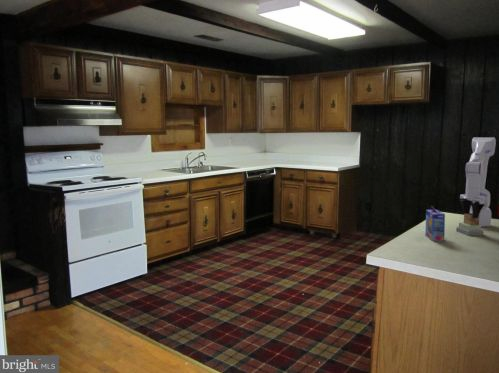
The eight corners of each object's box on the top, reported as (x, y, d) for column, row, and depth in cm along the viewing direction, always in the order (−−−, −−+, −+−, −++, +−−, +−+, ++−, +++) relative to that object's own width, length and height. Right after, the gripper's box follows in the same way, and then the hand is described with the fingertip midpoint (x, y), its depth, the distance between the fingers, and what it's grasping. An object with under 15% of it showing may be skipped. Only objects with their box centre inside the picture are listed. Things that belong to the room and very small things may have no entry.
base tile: (471, 231, 196) (471, 226, 196) (483, 236, 188) (483, 230, 188) (456, 232, 195) (456, 227, 194) (467, 236, 187) (467, 231, 186)
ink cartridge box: (424, 235, 189) (425, 204, 187) (436, 235, 188) (438, 204, 186) (431, 241, 179) (433, 208, 177) (444, 241, 178) (446, 208, 176)
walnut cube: (472, 222, 193) (473, 213, 192) (478, 224, 189) (479, 215, 188) (463, 222, 192) (464, 213, 192) (469, 225, 188) (470, 215, 187)
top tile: (470, 226, 195) (470, 221, 195) (480, 230, 189) (481, 224, 188) (458, 227, 194) (458, 222, 193) (468, 231, 187) (469, 226, 187)
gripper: (454, 185, 195) (453, 213, 197) (475, 190, 180) (473, 220, 182) (468, 185, 195) (466, 212, 198) (490, 189, 181) (487, 219, 183)
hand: (470, 216), depth 190 cm, fingers open, 6 cm apart
